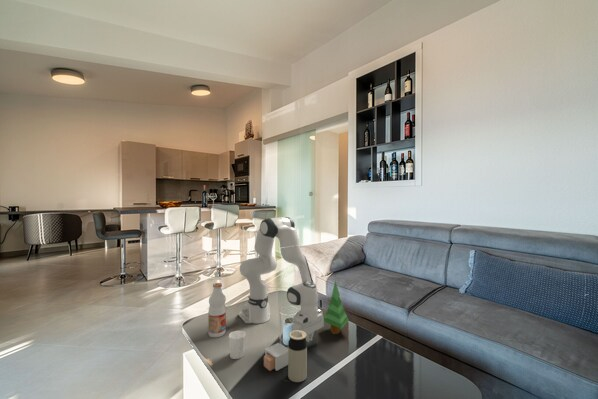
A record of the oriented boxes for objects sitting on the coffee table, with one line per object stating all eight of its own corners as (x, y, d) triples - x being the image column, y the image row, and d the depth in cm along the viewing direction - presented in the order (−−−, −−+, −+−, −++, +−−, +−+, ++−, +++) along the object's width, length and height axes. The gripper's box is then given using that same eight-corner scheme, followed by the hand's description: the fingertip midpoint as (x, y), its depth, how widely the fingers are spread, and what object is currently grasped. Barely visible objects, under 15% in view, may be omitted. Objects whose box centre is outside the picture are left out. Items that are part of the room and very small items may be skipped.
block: (263, 366, 118) (263, 356, 118) (271, 362, 121) (271, 352, 121) (269, 371, 114) (269, 360, 115) (277, 366, 118) (277, 356, 118)
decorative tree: (339, 324, 159) (339, 275, 159) (352, 337, 144) (352, 282, 144) (319, 327, 154) (319, 277, 155) (330, 341, 139) (330, 285, 140)
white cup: (239, 348, 132) (239, 328, 132) (248, 355, 126) (248, 334, 126) (225, 355, 126) (225, 334, 126) (234, 362, 121) (234, 340, 121)
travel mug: (292, 385, 106) (292, 340, 106) (285, 373, 113) (285, 331, 113) (309, 379, 109) (310, 336, 109) (302, 368, 116) (302, 328, 116)
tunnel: (265, 361, 121) (265, 348, 121) (278, 354, 126) (278, 342, 126) (276, 370, 114) (276, 357, 114) (290, 363, 120) (290, 350, 120)
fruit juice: (208, 330, 150) (209, 282, 150) (225, 328, 152) (225, 280, 153) (207, 339, 141) (208, 287, 141) (225, 336, 143) (226, 285, 144)
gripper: (318, 306, 144) (318, 331, 144) (290, 318, 130) (290, 345, 130) (326, 310, 139) (326, 336, 139) (299, 322, 125) (299, 351, 125)
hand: (309, 340), depth 135 cm, fingers closed
